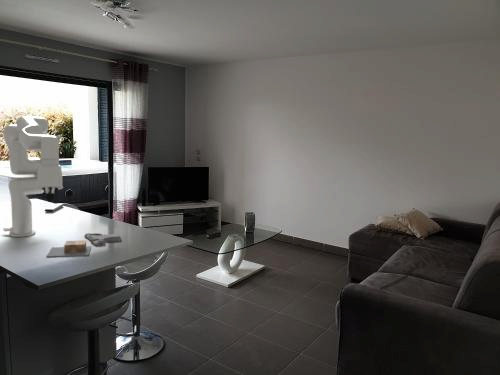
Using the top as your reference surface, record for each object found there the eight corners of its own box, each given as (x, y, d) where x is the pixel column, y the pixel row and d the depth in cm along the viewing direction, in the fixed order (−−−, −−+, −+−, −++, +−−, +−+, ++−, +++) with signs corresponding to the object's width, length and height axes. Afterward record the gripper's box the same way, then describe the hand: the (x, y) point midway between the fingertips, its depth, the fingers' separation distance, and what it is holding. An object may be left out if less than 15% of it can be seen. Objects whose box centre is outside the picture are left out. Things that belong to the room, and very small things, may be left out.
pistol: (125, 237, 207) (95, 241, 197) (125, 242, 208) (95, 247, 198) (112, 229, 223) (83, 233, 212) (112, 234, 223) (83, 238, 213)
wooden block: (64, 245, 182) (84, 244, 185) (66, 241, 189) (86, 240, 191) (64, 253, 183) (84, 252, 185) (66, 248, 189) (86, 248, 192)
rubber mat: (46, 257, 177) (46, 256, 177) (52, 248, 190) (52, 247, 190) (88, 255, 183) (88, 254, 182) (91, 247, 196) (91, 246, 196)
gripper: (29, 162, 173) (30, 202, 175) (66, 163, 177) (66, 202, 179) (33, 161, 180) (34, 200, 182) (68, 162, 184) (69, 200, 187)
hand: (50, 201), depth 181 cm, fingers closed
